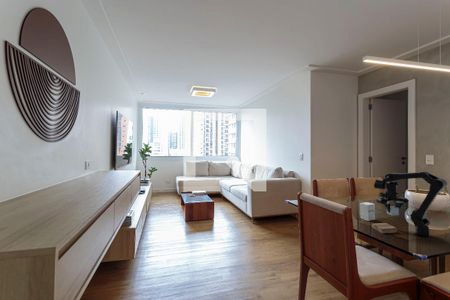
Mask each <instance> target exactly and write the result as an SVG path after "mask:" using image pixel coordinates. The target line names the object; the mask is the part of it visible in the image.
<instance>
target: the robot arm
mask: <svg viewBox="0 0 450 300" xmlns="http://www.w3.org/2000/svg"><path fill="white" fill-rule="evenodd" d="M412 179H423V180H424V181H425V182H426V183H427V184H429V191H428V193H427V194H426V196H425V198H423V201H422V203H421V205H420V206H419V208H416V209H413V210H412V212H411V213H410V215H409V216H410V221H412V223H413V225H414V227H415V232H413V234H414V235H416V236H419V237H421V238H429V237H430V238H431V237H432V235H431V234H430V227H429V226H430V224H431V221H429V220H428V219H427V215H428V211H429V209H430V207H431V206H432V204H433V203H434V201H435V199H436V198H437V196H439V195H438V194H439V193H441V191H443V190H444V189H445V188H446V187H447V186H448V182H447V181H446V180H445V179H444V178H440V177H438V176H436V175H434V174H431V173H430V172H428V171H417V172H405V173H404V172H403V173H400V172H389V173H386V174H385V176H384V178H383V179H382V180H381V179H375V181H374V184H373V187H374V189H377V190H385V193H384V192H379V193H378V195H379V197H378V198H376V200H375V201H376V203H379V205H380V204H381V205H384V207H385V209H386V212H387V211H388V213H390V206H392V205H391V203H393V202H394V204H395V205H394V206H395V207H397V208H399V210H400V209H401V207H402V206H403V205H405V204H406V203H407V204H408V203H410V201H409V199H408V198H407V197H405V196H399V197H398V195H399V192H398V186H400V185H401V183H400V182H399V180H412Z"/></svg>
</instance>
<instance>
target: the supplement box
mask: <svg viewBox="0 0 450 300" xmlns="http://www.w3.org/2000/svg"><path fill="white" fill-rule="evenodd" d="M359 213H360V219H362V220H365V221H368V222H369V221H370V222H371V221H376V205H375V203H372V202H368V201H365V202H360V203H359Z"/></svg>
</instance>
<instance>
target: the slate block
mask: <svg viewBox="0 0 450 300" xmlns="http://www.w3.org/2000/svg"><path fill="white" fill-rule="evenodd" d="M386 214H388V215H390V216H400V209H399V208H397V207H395V205H390V213H388V211H387V210H386Z"/></svg>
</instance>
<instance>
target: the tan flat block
mask: <svg viewBox="0 0 450 300" xmlns="http://www.w3.org/2000/svg"><path fill="white" fill-rule="evenodd" d="M371 227H372V229H374V230H376V231H377V232H378V233H381V234H393V233H397V232H398V229H397V227H395V226H393V225H391V224H389V223H387V222H380V223H377V222H375V223H372V224H371Z"/></svg>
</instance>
